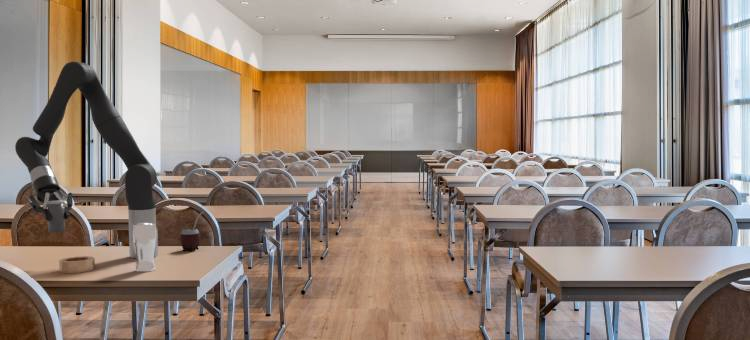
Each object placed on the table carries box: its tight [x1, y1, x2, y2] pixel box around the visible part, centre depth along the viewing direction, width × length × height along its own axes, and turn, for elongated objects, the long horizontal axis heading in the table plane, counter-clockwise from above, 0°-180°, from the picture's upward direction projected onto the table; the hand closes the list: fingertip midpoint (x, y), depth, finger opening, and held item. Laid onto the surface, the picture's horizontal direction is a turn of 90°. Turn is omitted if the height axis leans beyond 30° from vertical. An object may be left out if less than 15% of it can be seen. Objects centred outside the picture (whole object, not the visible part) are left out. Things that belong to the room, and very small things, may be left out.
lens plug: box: [47, 199, 66, 233], centre depth 207 cm, size 5×5×10 cm
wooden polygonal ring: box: [58, 255, 96, 274], centre depth 200 cm, size 10×10×4 cm
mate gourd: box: [180, 210, 205, 252], centre depth 234 cm, size 8×8×15 cm
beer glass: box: [133, 222, 157, 273], centre depth 198 cm, size 7×7×15 cm
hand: (58, 218), depth 206 cm, fingers closed on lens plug, 5 cm apart
